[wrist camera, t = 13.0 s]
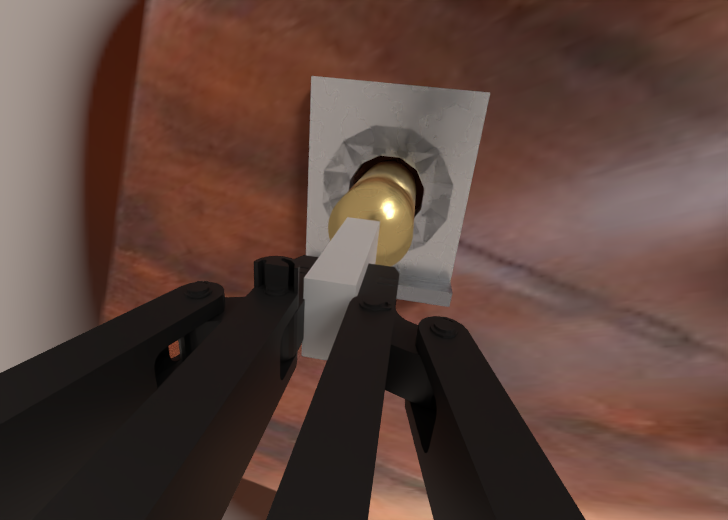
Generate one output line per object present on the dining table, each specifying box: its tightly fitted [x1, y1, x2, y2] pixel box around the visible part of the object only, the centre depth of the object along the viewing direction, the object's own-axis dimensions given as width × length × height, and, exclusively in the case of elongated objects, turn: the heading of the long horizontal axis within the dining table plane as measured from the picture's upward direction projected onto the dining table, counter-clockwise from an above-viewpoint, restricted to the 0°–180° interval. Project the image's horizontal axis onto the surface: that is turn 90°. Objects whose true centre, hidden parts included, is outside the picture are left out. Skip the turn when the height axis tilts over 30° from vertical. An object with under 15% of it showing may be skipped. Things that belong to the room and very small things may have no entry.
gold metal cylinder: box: [328, 161, 416, 266], centre depth 23 cm, size 4×4×11 cm
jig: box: [306, 76, 490, 307], centre depth 27 cm, size 15×12×4 cm
